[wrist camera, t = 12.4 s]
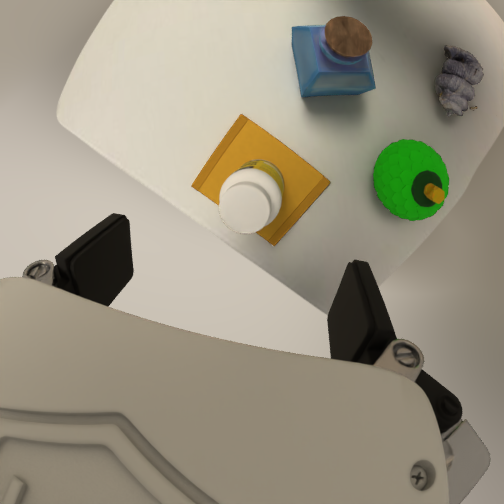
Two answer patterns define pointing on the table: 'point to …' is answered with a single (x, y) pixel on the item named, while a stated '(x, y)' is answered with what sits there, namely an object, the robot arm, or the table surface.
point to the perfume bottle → (333, 58)
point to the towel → (270, 149)
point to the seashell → (457, 80)
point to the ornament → (411, 179)
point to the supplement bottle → (251, 196)
